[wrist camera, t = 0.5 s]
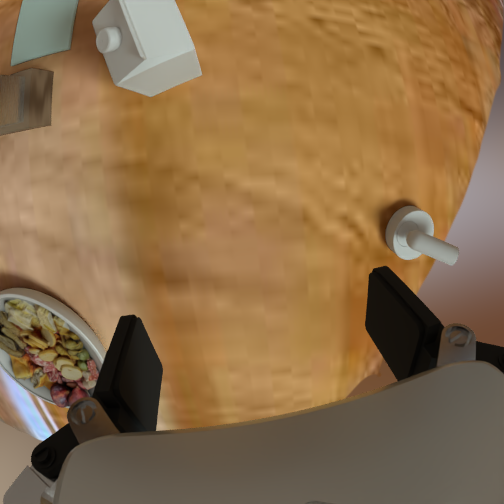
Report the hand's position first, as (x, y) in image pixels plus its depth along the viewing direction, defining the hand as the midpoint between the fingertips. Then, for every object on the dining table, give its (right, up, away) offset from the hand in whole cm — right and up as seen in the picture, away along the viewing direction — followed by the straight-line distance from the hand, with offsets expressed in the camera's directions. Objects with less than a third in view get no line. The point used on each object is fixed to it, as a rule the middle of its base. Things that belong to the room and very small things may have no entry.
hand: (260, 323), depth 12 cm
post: (-32, +24, +18) cm, 44 cm away
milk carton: (-11, +27, +20) cm, 35 cm away
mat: (-30, +36, +13) cm, 49 cm away
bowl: (-41, -16, +36) cm, 57 cm away
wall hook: (+26, +6, +34) cm, 44 cm away
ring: (-31, +22, +13) cm, 40 cm away
